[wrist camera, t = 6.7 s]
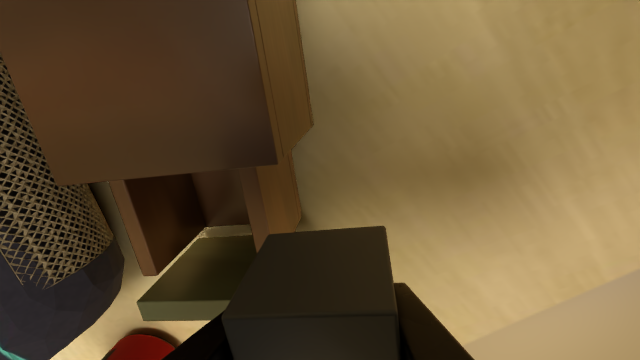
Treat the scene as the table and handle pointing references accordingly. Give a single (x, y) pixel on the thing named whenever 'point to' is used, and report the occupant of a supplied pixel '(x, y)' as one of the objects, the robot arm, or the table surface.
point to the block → (317, 299)
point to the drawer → (190, 219)
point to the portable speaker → (47, 245)
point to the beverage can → (139, 348)
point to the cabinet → (157, 84)
